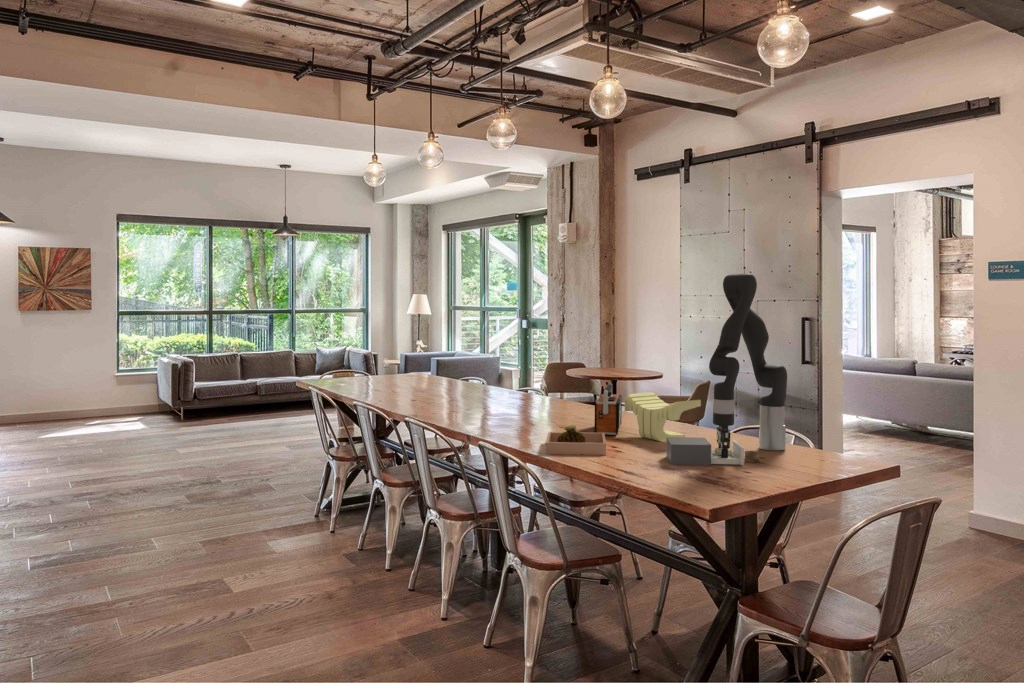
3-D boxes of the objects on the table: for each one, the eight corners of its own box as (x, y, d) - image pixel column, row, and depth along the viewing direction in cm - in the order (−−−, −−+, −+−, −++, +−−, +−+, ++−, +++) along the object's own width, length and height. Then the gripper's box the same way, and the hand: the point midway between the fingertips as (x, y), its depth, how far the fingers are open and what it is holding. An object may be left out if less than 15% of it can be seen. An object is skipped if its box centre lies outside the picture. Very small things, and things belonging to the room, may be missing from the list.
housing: (705, 457, 281) (705, 437, 280) (711, 465, 266) (711, 445, 266) (666, 456, 282) (666, 437, 281) (670, 464, 268) (671, 444, 267)
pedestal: (757, 460, 275) (757, 450, 275) (760, 463, 270) (760, 453, 270) (743, 459, 276) (743, 450, 275) (746, 462, 271) (746, 453, 270)
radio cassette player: (617, 437, 323) (617, 391, 322) (593, 436, 325) (593, 390, 324) (621, 426, 352) (621, 383, 350) (599, 425, 354) (599, 383, 353)
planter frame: (604, 443, 308) (604, 432, 308) (606, 454, 285) (606, 443, 285) (548, 442, 310) (548, 432, 310) (545, 453, 287) (545, 442, 287)
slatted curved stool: (624, 434, 328) (624, 394, 327) (652, 431, 336) (653, 392, 335) (670, 446, 302) (671, 402, 301) (700, 442, 310) (700, 399, 309)
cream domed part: (729, 452, 275) (729, 448, 275) (733, 455, 269) (733, 451, 269) (713, 452, 276) (713, 447, 276) (716, 455, 270) (716, 450, 270)
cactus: (556, 444, 308) (556, 420, 308) (594, 446, 303) (594, 422, 303) (544, 452, 292) (544, 427, 291) (584, 454, 287) (584, 429, 286)
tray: (735, 457, 279) (735, 440, 279) (743, 465, 265) (743, 447, 265) (697, 456, 281) (697, 440, 280) (703, 464, 267) (703, 447, 266)
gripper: (738, 414, 264) (737, 462, 265) (730, 408, 279) (729, 453, 280) (716, 414, 265) (716, 461, 266) (709, 408, 279) (709, 453, 280)
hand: (723, 457), depth 273 cm, fingers closed on cream domed part, 5 cm apart
